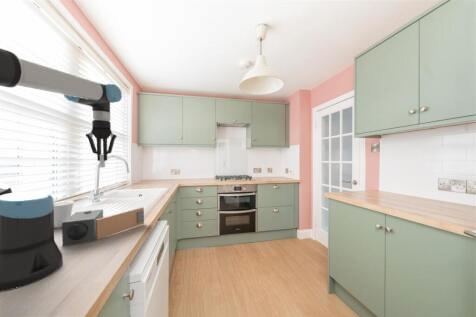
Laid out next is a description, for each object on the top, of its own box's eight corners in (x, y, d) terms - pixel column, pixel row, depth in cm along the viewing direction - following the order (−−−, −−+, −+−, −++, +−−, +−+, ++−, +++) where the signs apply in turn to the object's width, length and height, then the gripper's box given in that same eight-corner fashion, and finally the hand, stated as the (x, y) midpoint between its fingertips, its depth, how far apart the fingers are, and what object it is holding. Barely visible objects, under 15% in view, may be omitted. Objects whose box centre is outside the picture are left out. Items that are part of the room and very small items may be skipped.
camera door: (98, 240, 75) (98, 220, 75) (96, 238, 76) (95, 219, 76) (144, 223, 92) (144, 207, 92) (142, 223, 93) (142, 207, 93)
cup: (69, 227, 89) (68, 204, 89) (41, 230, 85) (41, 207, 85) (78, 220, 98) (77, 200, 98) (53, 223, 94) (53, 201, 94)
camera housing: (93, 242, 74) (92, 218, 73) (60, 247, 70) (59, 221, 69) (103, 228, 88) (102, 207, 88) (76, 231, 84) (76, 210, 84)
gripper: (118, 122, 100) (118, 166, 101) (88, 121, 95) (89, 167, 95) (115, 120, 93) (116, 167, 94) (82, 118, 88) (84, 168, 89)
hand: (102, 167), depth 95 cm, fingers closed
